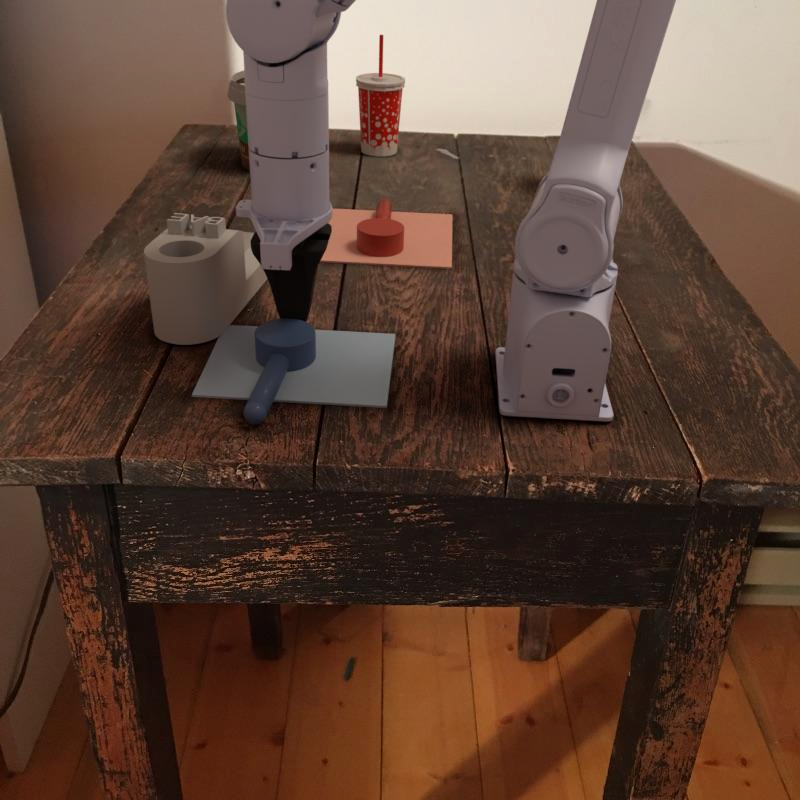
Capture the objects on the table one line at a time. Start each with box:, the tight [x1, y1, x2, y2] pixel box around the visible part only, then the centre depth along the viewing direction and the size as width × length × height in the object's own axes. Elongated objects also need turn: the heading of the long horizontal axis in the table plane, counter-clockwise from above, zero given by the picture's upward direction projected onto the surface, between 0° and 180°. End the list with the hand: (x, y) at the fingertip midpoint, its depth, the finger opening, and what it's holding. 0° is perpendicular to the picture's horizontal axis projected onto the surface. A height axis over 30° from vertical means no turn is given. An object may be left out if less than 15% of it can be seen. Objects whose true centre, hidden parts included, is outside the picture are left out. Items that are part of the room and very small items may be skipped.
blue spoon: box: [242, 318, 316, 425], centre depth 67 cm, size 12×5×2 cm, turn 173°
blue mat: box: [191, 324, 397, 409], centre depth 70 cm, size 11×14×1 cm
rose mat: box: [320, 207, 454, 270], centre depth 92 cm, size 14×14×1 cm
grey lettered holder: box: [143, 212, 268, 346], centre depth 77 cm, size 6×18×8 cm, turn 168°
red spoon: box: [357, 198, 404, 257], centre depth 92 cm, size 12×5×2 cm, turn 178°
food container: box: [227, 70, 250, 171], centre depth 108 cm, size 12×6×10 cm, turn 25°
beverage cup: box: [355, 34, 406, 157], centre depth 113 cm, size 6×6×14 cm
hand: (294, 318), depth 72 cm, fingers closed
